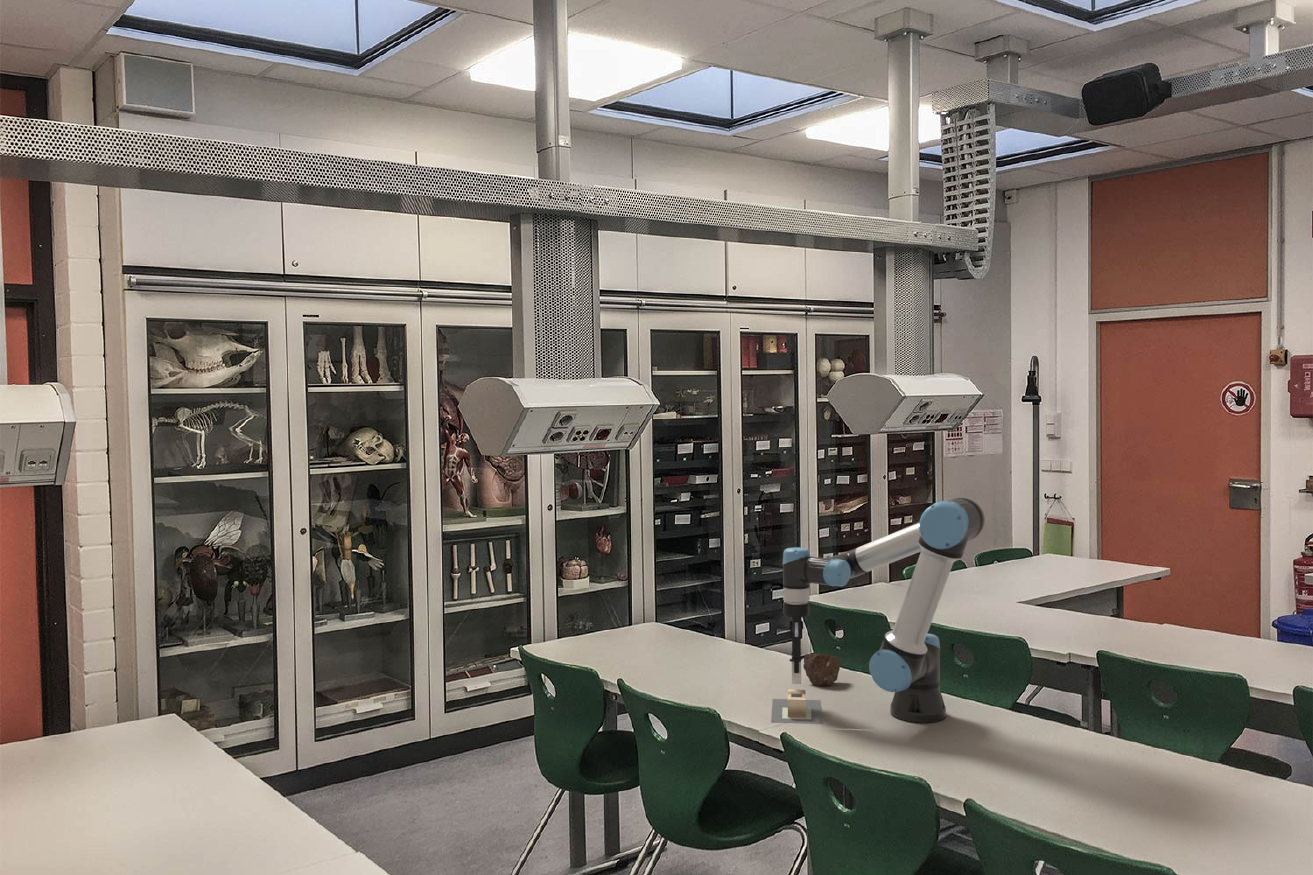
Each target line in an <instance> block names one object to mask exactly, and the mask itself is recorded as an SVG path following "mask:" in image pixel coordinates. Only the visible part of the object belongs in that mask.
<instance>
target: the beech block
mask: <svg viewBox="0 0 1313 875" xmlns="http://www.w3.org/2000/svg"><path fill="white" fill-rule="evenodd" d="M806 693H807V692H806V689H793V688H791V689H790V688H788V689H787V699H788V717H793V718H806V700H807V698H806V697H807V696H806Z"/></svg>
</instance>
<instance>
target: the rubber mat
mask: <svg viewBox="0 0 1313 875" xmlns="http://www.w3.org/2000/svg"><path fill="white" fill-rule="evenodd" d="M771 702H772V703H771V704H772V705H771V715H770V716H771V719H770V723H778V724H779V723H780V724H781V723H782V724H807V725H808V724H810V725H823V724H824V723H823V712H822V701H821V699H806V718H793V717H788V698H772V701H771Z"/></svg>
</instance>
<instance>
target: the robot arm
mask: <svg viewBox="0 0 1313 875" xmlns="http://www.w3.org/2000/svg"><path fill="white" fill-rule="evenodd" d="M985 519H986V517H985V514H984V510H983V509H982V507H981V506H980V505H979V504H978V503H977V502H976V501H974V500H973V499H969V498H967V497H957V498H953V499H948V500H941V501H940V500H939V501H938V502H935V503H933V504H932V505H930V506H929V507H927V508H926V509H925V510H924V511H923V512H922V514H921V516H920V519H919V522H917V523H914V524H911V525H910V526H906V527H904V528H902V529H900V530H897V531H895V532H892V533H891V534H888V535H885V536H883V537H880V538H877V539H875V540H873V541H871V542H869V543H865V544H863V545H861V546H858V547H856V548H853V549H851V550H848V551H844V552H843V553H840V554H836V555H833V556H828V557H819V556H817V557H816V556H811V554H810V550H809V549H808V548H805V547H796V546H795V547H794V546H793V547H788V548H786V549H784V550H783V556H782V577H783V578H782V585H783V589H781V591H780V593H781V594H783V596H782V599H783V600H782V601H784V602H783V603H782V614H783V615H784V617H788V618H789V617H790V618H791V619H792V620H789V622H788V623H789V630H790V634H789V635H790V636H789V637H790V639H791V658H789V662H790V663H791V684H792V685H796V684H797V685H801V684H802V661H804V657H803V656H802V639H803V630H804V620H801V618H806V617H807V618H808V616H810V603H809V601H810V597H811V596H810V595H811V594H810V593H811V592H810V584H816V585H821V586H823V585H824V586H831V587H844V586H846V585H847V584H848V583H849V581H850V579H854V578H858V577H860V576H862V575H864V574H866V573H868V572H871V571H873V570H876V569H878V568H881V567H884V566H886V565H887V566H888V565H889V564H892V563H895V562H897V561H899V560H902V559H904V558H907V557H910V556H913V555H915V554H918V553H919V556H918V559H917V562H916V564H915V567H914V570H913V573H912V576H911V579H910V582H909V585H908V587H907V590H906V593H905V595H904V599H903V601H902V604H901V607H900V610H899V612H898V615H897V618H896V621H895V623H894V627H893V629H892V630H889V631H887V632H885V634H884V637H883V640H882V642H881V646H880V648H879V650H877V651H875V653H873V655H872V656H871V657H870V660H869V662H868V668H869V674H870V676H871V678H872V680H873V682H874V683H875V684H876V685H877V687H879V688H880V689H882V690H883V691H886V692H889V693H894V694H893V697H892V700H891V703H890V705H889V706H890V710H889V711H890V715H891V716H892V717H893V718H896V719H899V720H901V721H902V720H903V721H907V722H911V723H937V722H940V721H943V720H944V719H946V717H947V708H946V705H945V701H944V699H943V695H942V692H941V688H940V687H941V686H940V680H941V678H940V674H941V672H940V667H941V666H940V665H941V664H940V663H941V662H940V660H941V654H940V653H941V647H940V644H941V643H940V639H939V637H938V636H937V635H935V634H933V633H928V632H929V630H930V628H931V624H932V622H933V619H934V617H935V613H936V611H937V608H938V605H939V603H940V599H941V597H942V595H943V593H944V589H945V587H946V584H947V581H948V579H949V575H950V573H951V570H952V567H953V565H954V563H955V562H956V561H959V560H961V559H962V558H963V555H964V552H965V550H966V547H967V545H968V542H969V541H972V540H974V539H975V538H978V536H979V535H980V534H981V532H982V531H983V530H984V527H985V524H986V520H985Z"/></svg>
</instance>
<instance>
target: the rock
mask: <svg viewBox="0 0 1313 875" xmlns="http://www.w3.org/2000/svg"><path fill="white" fill-rule="evenodd" d="M841 663H842V660H841V658H840V657H838V656H834V655H831V654H824V653H806V654H805V655H804V657H803V666H802V667H803V668H802V669H803V670H804V671H805V673H806V674H805V675H806V677H807V678H808V680H809V682H810V683H811V685H813V686H819V687H829V686H831V685H833V684H834V683H835V682H836V681H837V680H838V676H839V672H840V669H841V668H840V667H841Z"/></svg>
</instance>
